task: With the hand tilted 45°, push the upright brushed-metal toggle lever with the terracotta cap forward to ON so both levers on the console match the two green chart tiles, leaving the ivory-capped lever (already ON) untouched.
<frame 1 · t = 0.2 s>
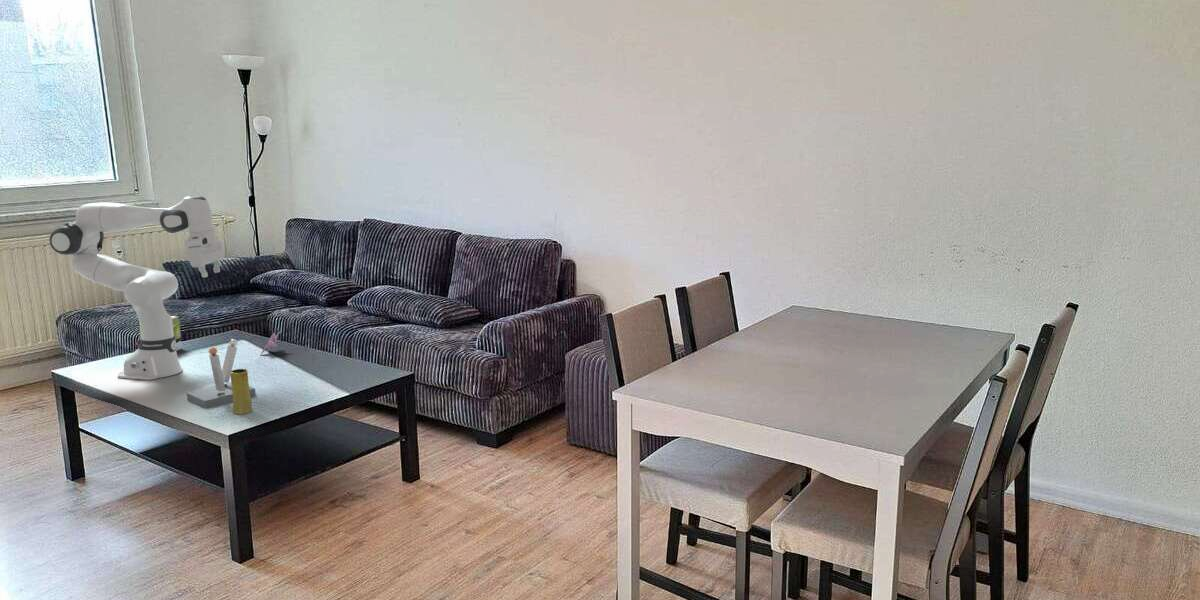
hand: (211, 274, 327), 39 cm above the table, tool pointing down, fingers open, 8 cm apart
tea box: (162, 353, 364), on the table
lily: (273, 353, 363), on the table
vase: (242, 412, 291), on the table
switch b: (229, 360, 311), point 11 cm above the table, hinge at 20.0°
switch a: (216, 369, 298), point 12 cm above the table, hinge at -5.0°
console: (221, 397, 306), on the table
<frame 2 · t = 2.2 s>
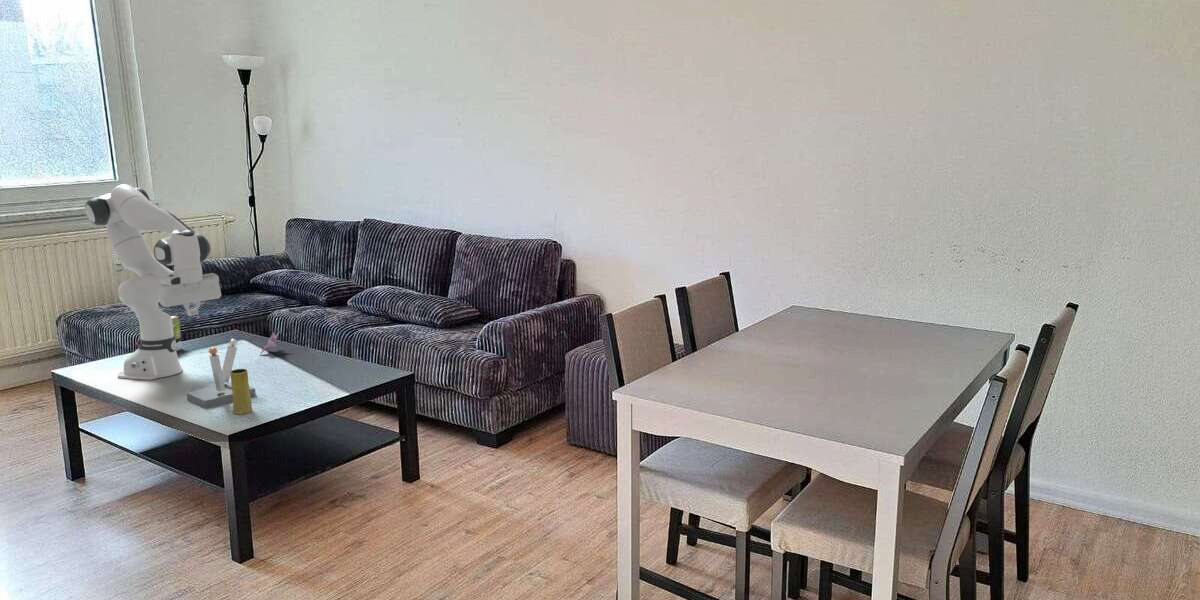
hand: (193, 314, 304), 29 cm above the table, tool pointing down, fingers closed
nothing on the table moved.
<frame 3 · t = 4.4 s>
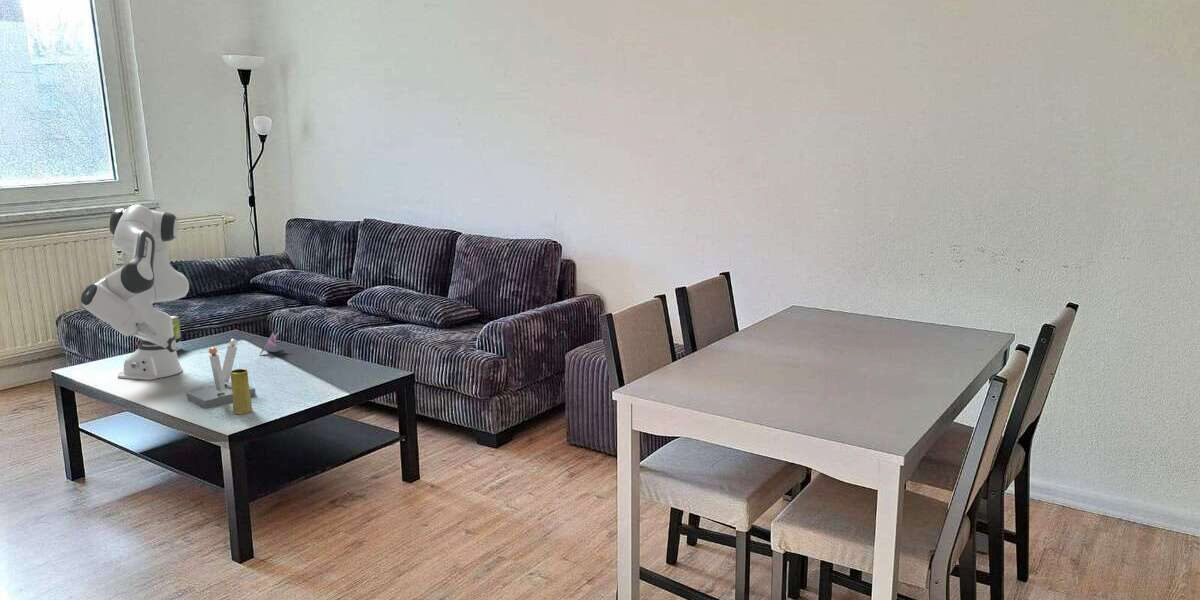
hand: (165, 345, 284), 24 cm above the table, tool tilted 45°, fingers closed
nothing on the table moved.
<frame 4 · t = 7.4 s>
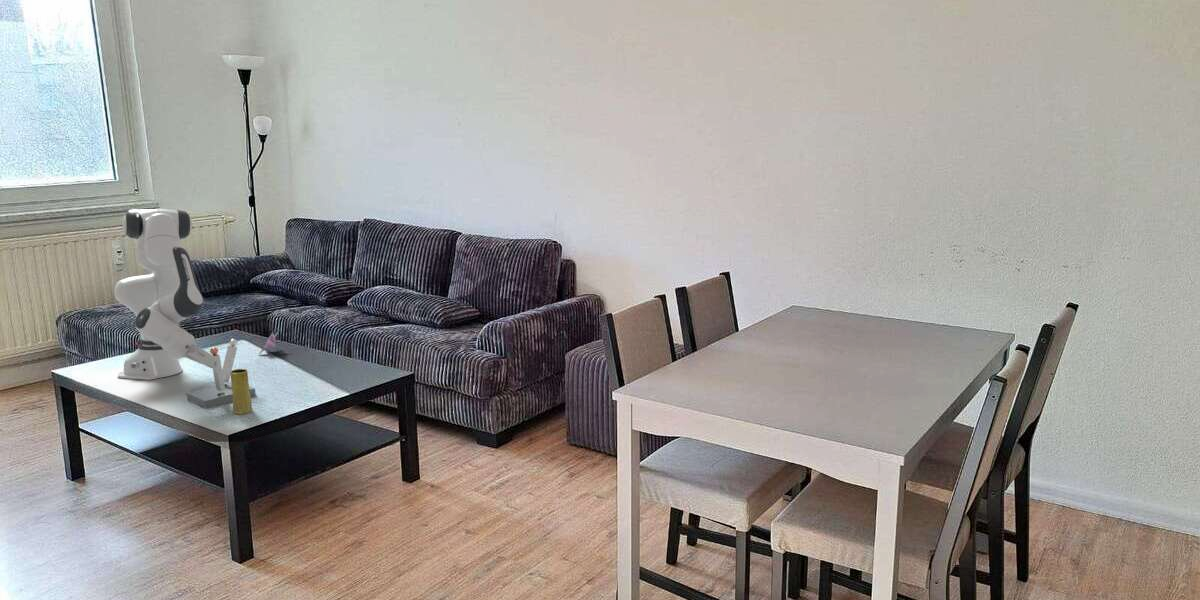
hand: (212, 366, 297), 13 cm above the table, tool tilted 45°, fingers closed, pressing on switch a
switch a: (217, 368, 298), point 12 cm above the table, hinge at -3.6°, touching gripper
everything else where it was.
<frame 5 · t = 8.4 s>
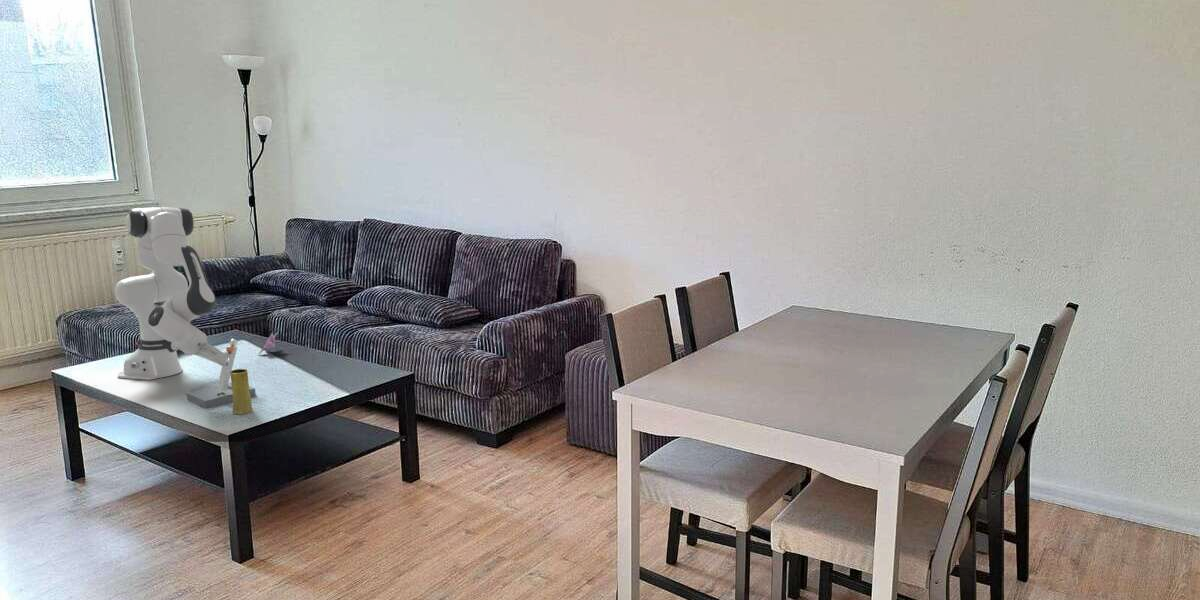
hand: (223, 364, 300), 13 cm above the table, tool tilted 45°, fingers closed, pressing on switch a
switch a: (226, 367, 301), point 12 cm above the table, hinge at 17.5°, touching gripper
everything else where it was.
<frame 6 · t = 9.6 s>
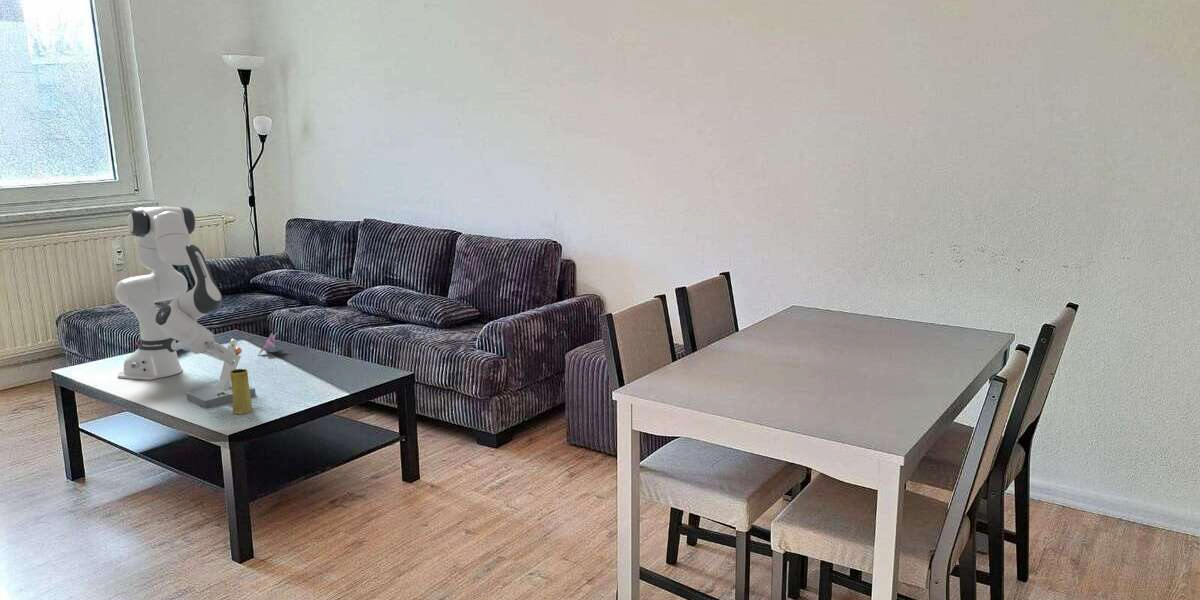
hand: (230, 362, 302), 13 cm above the table, tool tilted 45°, fingers closed, pressing on switch a
switch a: (231, 368, 302), point 11 cm above the table, hinge at 28.0°, touching gripper
everything else where it was.
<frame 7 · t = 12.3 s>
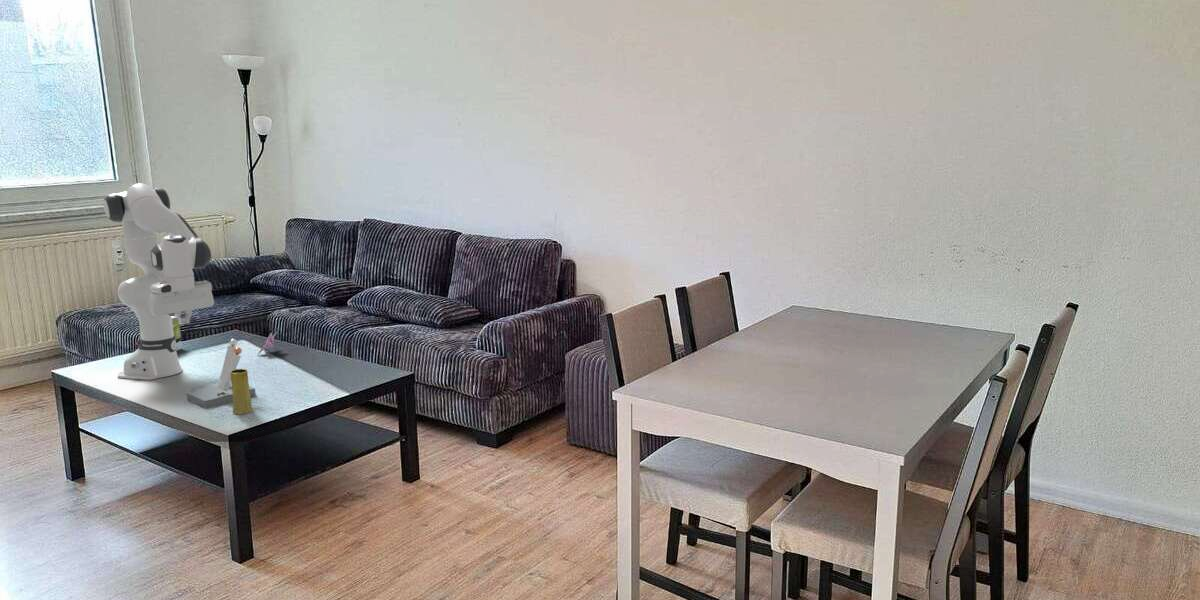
hand: (184, 323, 292), 29 cm above the table, tool pointing down, fingers closed
switch a: (231, 368, 302), point 11 cm above the table, hinge at 28.0°
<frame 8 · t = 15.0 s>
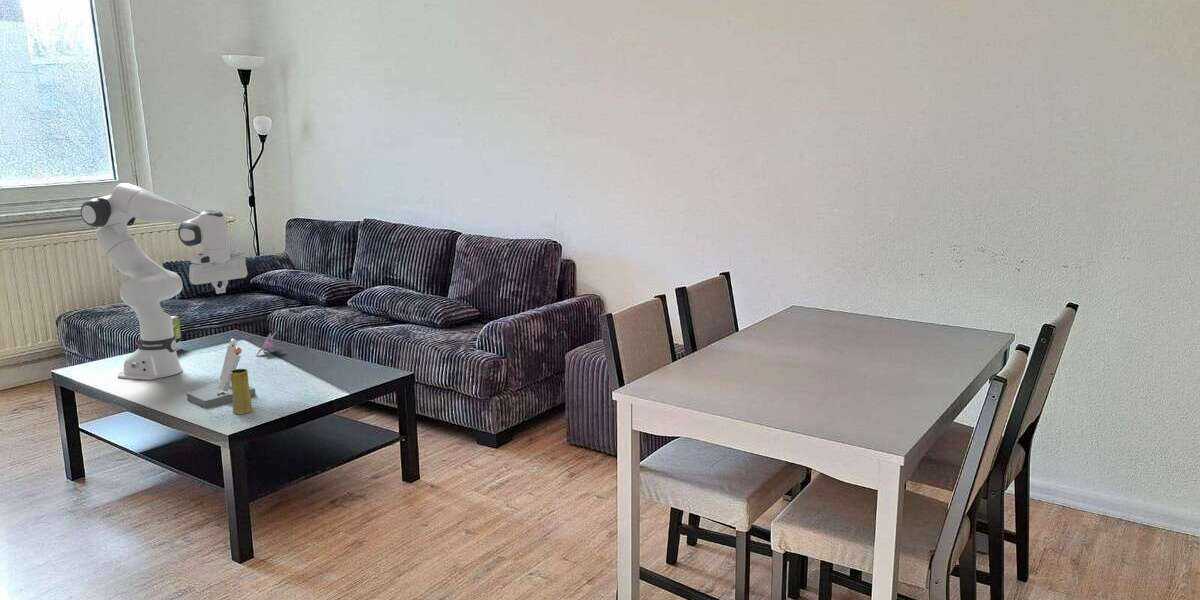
hand: (220, 293, 316), 34 cm above the table, tool pointing down, fingers closed
at the end: switch a at +28° (first picture: -5°); switch b at +20° (first picture: +20°) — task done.
